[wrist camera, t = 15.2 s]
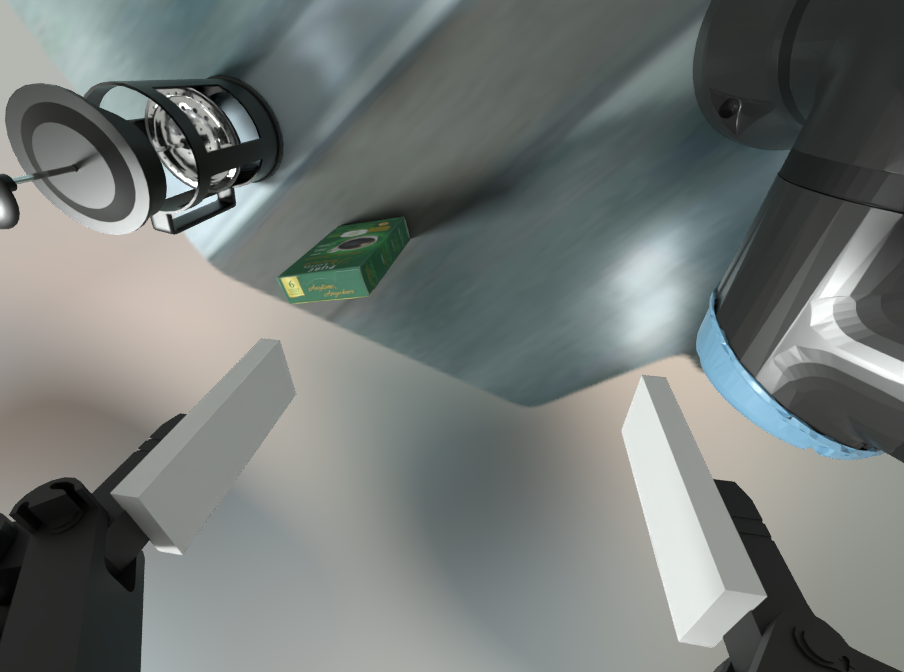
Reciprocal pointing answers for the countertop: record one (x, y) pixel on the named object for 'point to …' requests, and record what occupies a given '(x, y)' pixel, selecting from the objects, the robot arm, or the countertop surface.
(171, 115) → the french press
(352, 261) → the coffee box
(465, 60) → the countertop surface
